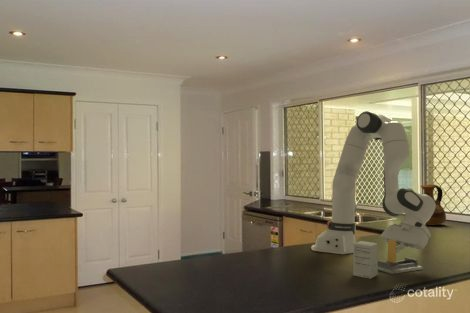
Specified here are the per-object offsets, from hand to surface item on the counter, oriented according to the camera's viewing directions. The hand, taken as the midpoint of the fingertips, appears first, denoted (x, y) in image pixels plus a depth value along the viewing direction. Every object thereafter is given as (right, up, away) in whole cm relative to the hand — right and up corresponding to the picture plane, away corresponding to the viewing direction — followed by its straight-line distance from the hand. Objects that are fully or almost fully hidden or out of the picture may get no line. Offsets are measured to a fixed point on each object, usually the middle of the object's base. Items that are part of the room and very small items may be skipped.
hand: (394, 251), depth 178 cm
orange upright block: (-1, -6, -1) cm, 6 cm away
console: (+2, -7, +1) cm, 8 cm away
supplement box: (-15, -7, -11) cm, 20 cm away
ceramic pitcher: (+78, -11, +138) cm, 159 cm away
